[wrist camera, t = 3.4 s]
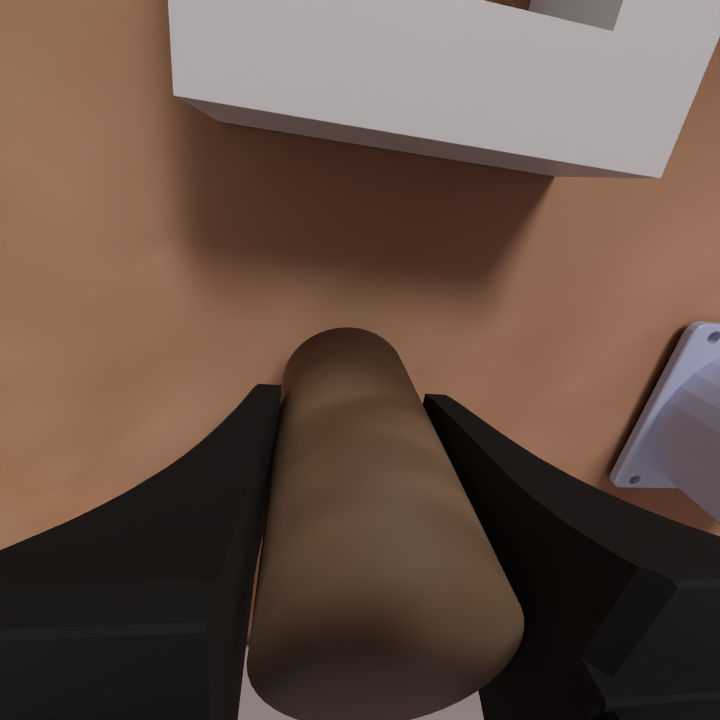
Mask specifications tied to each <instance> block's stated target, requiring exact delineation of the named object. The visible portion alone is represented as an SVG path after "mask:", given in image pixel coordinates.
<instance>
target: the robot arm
mask: <svg viewBox="0 0 720 720" xmlns="http://www.w3.org/2000/svg"><path fill="white" fill-rule="evenodd" d="M280 398H281V385H268V384H257V385H256V386H255V387H254V388H253V389H252V390H251V391H250V393H249V394H248V395H247V396H246V398H245V399H244V400H243V401H242V402H241V403H240V404H239V405H238V407H237V408H236V409H235V410H234V411H233V412H232V413H231V414H230V415H229V416H228V417H227V418H226V419H225V420H224V421H223V422H222V423H221V424H220V425H219V426H218V427H217V428H216V429H214V430H213V431H212V432H211V433H210V434H209V435H208V436H207V437H205V438H204V439H203V440H202V441H201V442H200V443H199V444H197V445H196V446H195V447H194V448H192V449H191V450H190V451H189V452H187V453H186V454H185V455H184V456H182V457H181V458H179V459H178V460H177V461H175V462H174V463H173V464H171V465H170V466H168V467H167V468H165V469H164V470H162V471H160V472H159V473H157V474H155V475H154V476H152V477H150V478H149V479H147V480H145V481H144V482H142V483H141V484H139V485H137V486H136V487H134V488H132V489H131V490H129V491H127V492H125V493H124V494H122V495H120V496H118V497H116V498H114V499H112V500H110V501H108V502H107V503H105V504H103V505H101V506H99V507H97V508H95V509H93V510H91V511H89V512H87V513H84V514H82V515H80V516H78V517H76V518H74V519H72V520H70V521H68V522H65V523H63V524H61V525H59V526H56V527H54V528H52V529H49V530H47V531H45V532H42V533H40V534H38V535H35V536H33V537H30V538H28V539H26V540H23V541H21V542H19V543H16V544H14V545H12V546H9V547H7V548H4V549H2V550H0V720H237V719H238V711H239V702H240V693H241V685H242V676H243V667H244V659H245V651H246V642H247V634H248V625H249V617H250V609H251V601H252V593H253V584H254V576H255V570H256V564H257V559H258V553H259V549H260V544H261V540H262V535H263V530H264V525H265V517H266V510H267V502H268V494H269V486H270V479H271V471H272V463H273V455H274V448H275V440H276V433H277V427H278V419H279V411H280ZM423 406H424V408H425V411H426V413H427V415H428V417H429V419H430V421H431V423H432V425H433V427H434V429H435V431H436V433H437V435H438V437H439V439H440V441H441V443H442V446H443V448H444V450H445V452H446V454H447V456H448V458H449V460H450V462H451V464H452V466H453V468H454V470H455V472H456V474H457V476H458V478H459V480H460V483H461V485H462V487H463V489H464V491H465V493H466V495H467V497H468V499H469V501H470V503H471V505H472V507H473V509H474V511H475V513H476V515H477V518H478V520H479V522H480V524H481V526H482V528H483V530H484V532H485V534H486V536H487V538H488V540H489V542H490V544H491V546H492V548H493V550H494V553H495V555H496V557H497V559H498V561H499V563H500V565H501V567H502V569H503V571H504V573H505V575H506V577H507V579H508V581H509V583H510V585H511V588H512V590H513V592H514V594H515V596H516V598H517V600H518V602H519V604H520V606H521V608H522V612H523V616H524V632H523V636H522V640H521V643H520V645H519V647H518V650H517V651H516V653H515V655H514V656H513V658H512V659H511V661H510V662H509V663H508V664H507V666H506V667H505V668H504V669H503V670H502V671H501V672H500V673H499V674H498V675H497V676H496V677H495V678H494V679H493V680H491V681H490V682H489V683H488V684H486V685H485V686H484V687H482V688H481V689H479V690H478V691H479V695H480V701H481V706H482V711H483V716H484V720H720V536H717V535H714V534H711V533H708V532H705V531H702V530H699V529H696V528H693V527H690V526H687V525H684V524H681V523H678V522H676V521H673V520H670V519H668V518H665V517H663V516H660V515H658V514H655V513H652V512H650V511H647V510H645V509H642V508H640V507H637V506H635V505H633V504H630V503H628V502H626V501H623V500H621V499H619V498H616V497H614V496H612V495H610V494H608V493H606V492H603V491H601V490H599V489H597V488H595V487H593V486H590V485H588V484H586V483H584V482H582V481H580V480H578V479H576V478H574V477H573V476H571V475H569V474H567V473H565V472H563V471H562V470H560V469H558V468H556V467H554V466H552V465H551V464H549V463H547V462H545V461H544V460H542V459H540V458H538V457H537V456H535V455H534V454H532V453H530V452H529V451H527V450H526V449H524V448H523V447H521V446H519V445H518V444H516V443H515V442H513V441H512V440H510V439H509V438H507V437H506V436H504V435H503V434H501V433H500V432H499V431H497V430H496V429H494V428H493V427H491V426H490V425H489V424H487V423H486V422H484V421H483V420H482V419H480V418H479V417H478V416H476V415H475V414H473V413H472V412H471V411H469V410H468V409H466V408H465V407H464V406H462V405H461V404H459V403H458V402H456V401H455V400H453V399H452V398H450V397H448V396H447V395H438V394H425V397H424V401H423ZM609 478H610V481H611V482H612V483H613V484H614V485H615V486H617V487H626V488H679V489H680V490H681V491H682V492H683V493H685V494H686V495H687V496H688V497H689V498H690V499H692V500H693V501H694V502H695V503H696V504H698V505H699V506H700V507H701V508H702V509H703V510H705V511H706V512H707V513H708V514H709V515H710V516H712V517H713V518H714V519H715V520H716V521H717V522H719V523H720V323H715V322H705V321H697V322H695V323H692V324H691V325H689V326H688V327H687V328H686V329H685V331H684V332H683V334H682V336H681V338H680V340H679V342H678V344H677V346H676V348H675V350H674V352H673V354H672V356H671V357H670V359H669V361H668V363H667V365H666V367H665V369H664V371H663V373H662V375H661V377H660V379H659V381H658V383H657V385H656V386H655V388H654V390H653V392H652V394H651V396H650V398H649V400H648V402H647V404H646V406H645V408H644V410H643V412H642V414H641V415H640V417H639V419H638V421H637V423H636V425H635V427H634V429H633V431H632V433H631V435H630V437H629V439H628V441H627V443H626V445H625V446H624V448H623V450H622V452H621V454H620V456H619V458H618V460H617V462H616V464H615V466H614V468H613V470H612V472H611V474H610V477H609Z"/></svg>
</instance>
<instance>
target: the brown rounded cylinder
mask: <svg viewBox="0 0 720 720" xmlns="http://www.w3.org/2000/svg"><path fill="white" fill-rule="evenodd" d="M523 632H524V616H523V612H522V608H521V606H520V604H519V602H518V600H517V598H516V596H515V594H514V592H513V590H512V588H511V585H510V583H509V581H508V579H507V577H506V575H505V573H504V571H503V569H502V567H501V565H500V563H499V561H498V559H497V557H496V555H495V553H494V550H493V548H492V546H491V544H490V542H489V540H488V538H487V536H486V534H485V532H484V530H483V528H482V526H481V524H480V522H479V520H478V518H477V515H476V513H475V511H474V509H473V507H472V505H471V503H470V501H469V499H468V497H467V495H466V493H465V491H464V489H463V487H462V485H461V483H460V480H459V478H458V476H457V474H456V472H455V470H454V468H453V466H452V464H451V462H450V460H449V458H448V456H447V454H446V452H445V450H444V448H443V446H442V443H441V441H440V439H439V437H438V435H437V433H436V431H435V429H434V427H433V425H432V423H431V421H430V419H429V417H428V415H427V413H426V411H425V408H424V406H423V404H422V402H421V400H420V398H419V396H418V394H417V392H416V390H415V388H414V386H413V384H412V382H411V380H410V378H409V376H408V373H407V371H406V369H405V367H404V365H403V363H402V361H401V359H400V357H399V355H398V353H397V352H396V351H395V349H394V348H393V347H392V346H391V345H390V344H389V343H388V342H387V341H386V340H384V339H383V338H382V337H380V336H378V335H376V334H374V333H372V332H370V331H366V330H363V329H358V328H335V329H331V330H327V331H324V332H321V333H319V334H317V335H315V336H313V337H311V338H309V339H308V340H306V341H305V342H304V343H303V344H302V345H300V346H299V347H298V348H297V350H296V351H295V352H294V353H293V355H292V356H291V358H290V359H289V361H288V363H287V366H286V369H285V372H284V378H283V385H282V393H281V401H280V411H279V419H278V427H277V433H276V440H275V448H274V455H273V463H272V471H271V479H270V486H269V494H268V502H267V510H266V517H265V525H264V533H263V541H262V549H261V556H260V564H259V572H258V580H257V587H256V595H255V603H254V611H253V619H252V626H251V634H250V642H249V650H248V657H247V673H248V677H249V679H250V682H251V685H252V687H253V688H254V690H255V691H256V693H257V694H258V695H259V696H260V697H261V698H262V700H263V701H264V702H266V703H267V704H268V705H270V706H271V707H272V708H274V709H276V710H277V711H279V712H281V713H283V714H285V715H287V716H290V717H292V718H295V719H298V720H410V719H414V718H418V717H421V716H424V715H428V714H431V713H434V712H436V711H439V710H441V709H444V708H446V707H448V706H451V705H453V704H455V703H457V702H459V701H461V700H463V699H464V698H466V697H468V696H470V695H472V694H473V693H475V692H476V691H478V690H479V689H481V688H482V687H484V686H485V685H486V684H488V683H489V682H490V681H491V680H493V679H494V678H495V677H496V676H497V675H498V674H499V673H500V672H501V671H502V670H503V669H504V668H505V667H506V666H507V664H508V663H509V662H510V661H511V659H512V658H513V656H514V655H515V653H516V651H517V650H518V647H519V645H520V643H521V640H522V636H523Z"/></svg>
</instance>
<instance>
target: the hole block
mask: <svg viewBox="0 0 720 720" xmlns="http://www.w3.org/2000/svg"><path fill="white" fill-rule="evenodd" d="M168 9H169V27H170V44H171V62H172V79H173V95H174V96H175V97H177V98H179V99H181V100H182V101H184V102H186V103H188V104H189V105H191V106H193V107H194V108H196V109H198V110H200V111H201V112H203V113H205V114H207V115H208V116H210V117H212V118H214V119H215V120H217V121H219V122H223V123H229V124H236V125H242V126H248V127H254V128H260V129H266V130H272V131H279V132H285V133H291V134H297V135H303V136H309V137H315V138H322V139H328V140H334V141H340V142H346V143H352V144H358V145H365V146H371V147H377V148H383V149H389V150H395V151H401V152H408V153H414V154H420V155H426V156H432V157H438V158H444V159H451V160H457V161H463V162H469V163H475V164H481V165H487V166H494V167H500V168H506V169H512V170H518V171H524V172H530V173H537V174H543V175H549V176H555V177H606V178H661V176H662V174H663V172H664V169H665V167H666V164H667V162H668V160H669V157H670V155H671V152H672V150H673V148H674V145H675V143H676V140H677V138H678V136H679V133H680V131H681V128H682V126H683V124H684V121H685V119H686V116H687V114H688V111H689V109H690V107H691V104H692V102H693V99H694V97H695V95H696V92H697V90H698V87H699V85H700V83H701V80H702V78H703V75H704V73H705V71H706V68H707V66H708V63H709V61H710V59H711V56H712V54H713V51H714V49H715V47H716V44H717V42H718V39H719V37H720V0H531V1H530V5H529V9H528V11H526V10H522V9H518V8H514V7H510V6H505V5H501V4H497V3H493V2H489V1H484V0H168Z"/></svg>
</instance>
